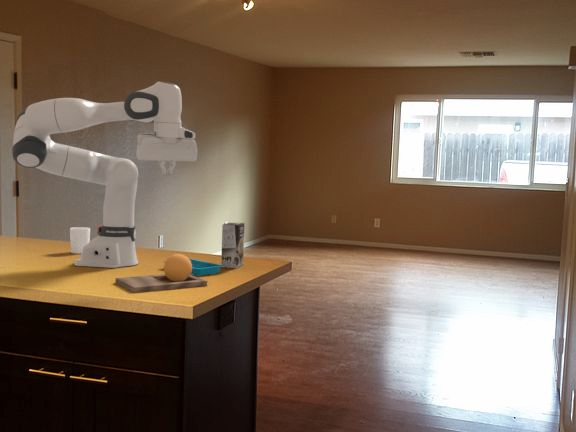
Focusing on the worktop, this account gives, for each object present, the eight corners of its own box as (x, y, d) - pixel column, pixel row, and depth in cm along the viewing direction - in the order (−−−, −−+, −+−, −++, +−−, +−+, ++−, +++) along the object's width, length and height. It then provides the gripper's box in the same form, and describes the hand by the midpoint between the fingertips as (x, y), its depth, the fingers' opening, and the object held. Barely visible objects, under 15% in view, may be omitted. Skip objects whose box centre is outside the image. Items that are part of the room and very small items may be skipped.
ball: (193, 251, 208) (198, 278, 207) (169, 256, 210) (173, 283, 209) (182, 251, 199) (187, 279, 198) (156, 256, 201) (161, 284, 200)
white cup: (72, 251, 260) (72, 226, 259) (92, 251, 261) (92, 227, 260) (67, 253, 253) (67, 229, 252) (87, 254, 253) (87, 229, 252)
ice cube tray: (198, 277, 214) (198, 269, 214) (162, 269, 227) (162, 261, 227) (224, 274, 222) (224, 265, 222) (187, 266, 236) (187, 258, 236)
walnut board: (133, 292, 186) (134, 287, 186) (115, 282, 199) (115, 278, 199) (207, 285, 200) (207, 280, 199) (185, 276, 213) (185, 272, 213)
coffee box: (237, 268, 232) (238, 225, 230) (220, 267, 233) (221, 224, 232) (244, 264, 241) (245, 222, 239) (227, 263, 242) (228, 221, 241)
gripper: (140, 130, 198) (140, 175, 199) (199, 133, 209) (199, 175, 210) (133, 131, 203) (133, 174, 204) (191, 134, 214) (190, 174, 216)
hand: (167, 175), depth 207 cm, fingers closed
